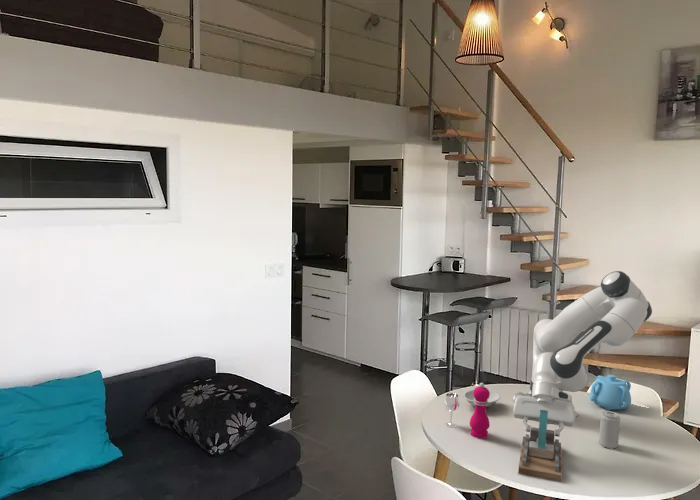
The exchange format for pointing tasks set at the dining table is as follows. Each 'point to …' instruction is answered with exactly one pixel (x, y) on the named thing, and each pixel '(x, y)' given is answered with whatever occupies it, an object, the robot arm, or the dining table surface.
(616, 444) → the beverage can
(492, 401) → the dish
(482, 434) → the pepper mill
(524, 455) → the tray
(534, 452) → the track slider block
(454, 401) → the wineglass
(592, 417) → the dining table surface
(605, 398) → the decorative pot
